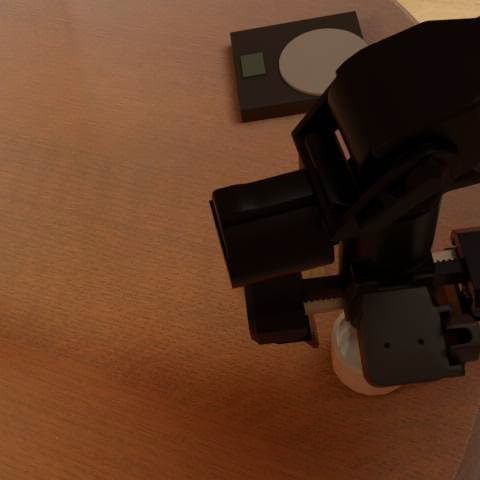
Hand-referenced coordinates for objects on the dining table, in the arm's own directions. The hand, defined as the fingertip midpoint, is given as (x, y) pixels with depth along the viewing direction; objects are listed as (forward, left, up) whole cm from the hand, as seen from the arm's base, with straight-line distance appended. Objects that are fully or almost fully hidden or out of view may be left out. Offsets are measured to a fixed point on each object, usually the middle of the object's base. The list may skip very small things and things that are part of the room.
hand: (374, 335), depth 59 cm
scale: (+1, -34, -5) cm, 35 cm away
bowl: (0, 0, -5) cm, 5 cm away
